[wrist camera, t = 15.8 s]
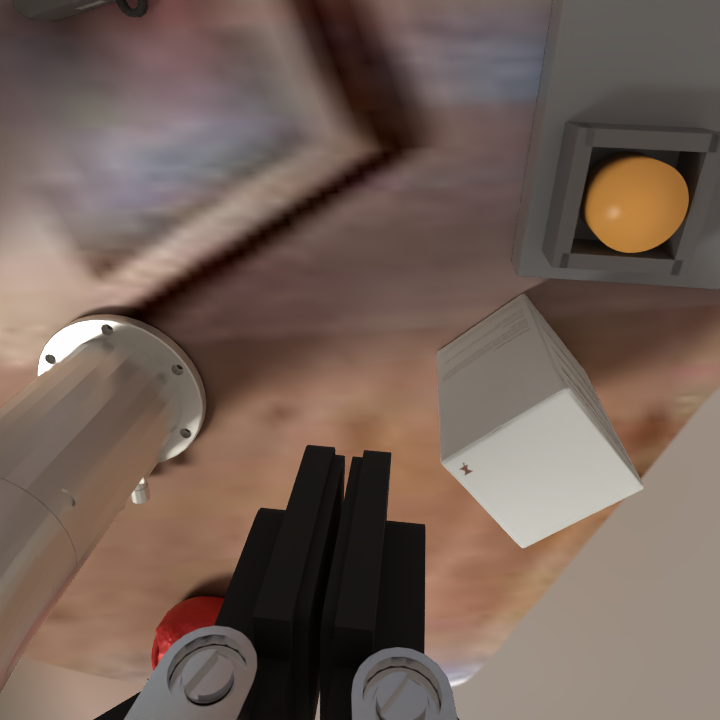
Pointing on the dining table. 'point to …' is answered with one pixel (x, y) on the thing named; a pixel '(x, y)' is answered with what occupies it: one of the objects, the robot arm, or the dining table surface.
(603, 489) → the supplement box
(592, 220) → the orange button
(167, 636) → the pomegranate
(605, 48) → the panel
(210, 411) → the dining table surface
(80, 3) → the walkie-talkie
